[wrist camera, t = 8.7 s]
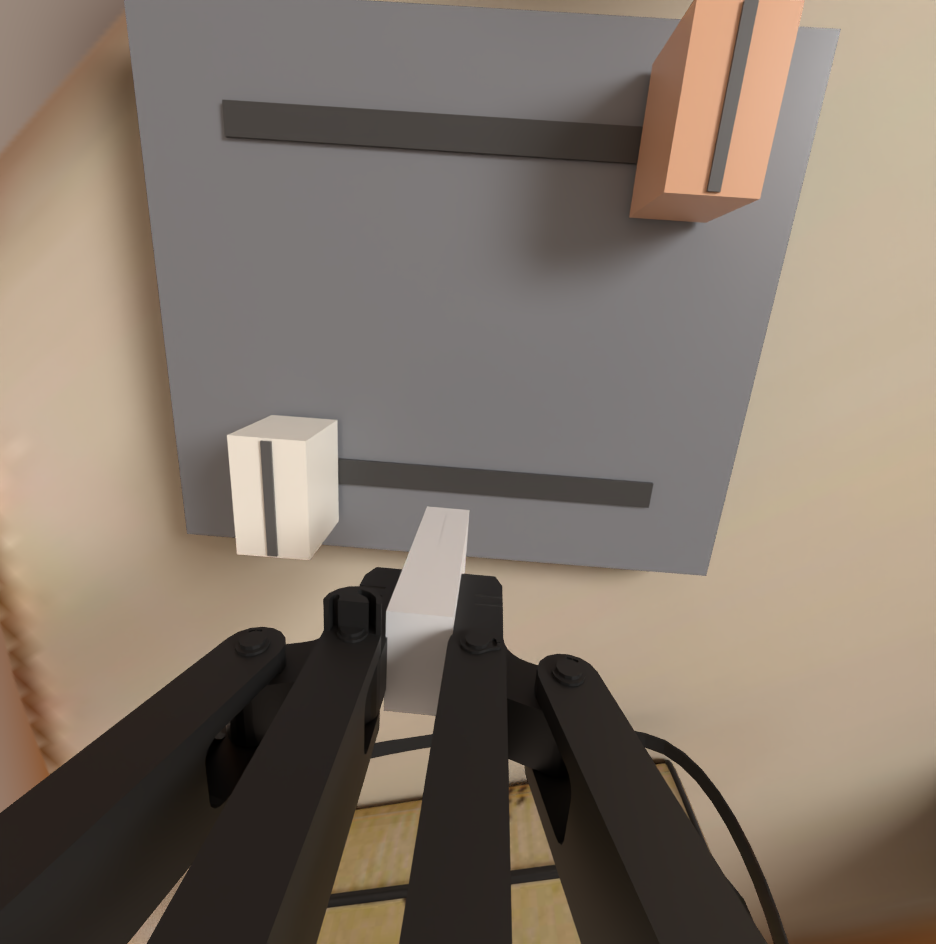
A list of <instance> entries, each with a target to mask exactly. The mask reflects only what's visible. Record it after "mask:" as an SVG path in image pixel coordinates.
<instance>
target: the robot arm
mask: <svg viewBox="0 0 936 944" xmlns="http://www.w3.org/2000/svg"><path fill="white" fill-rule="evenodd" d="M468 523H469V510H463V509H451V508H439V507H428V506H427V508H426V511H425V513H424V516H423V518H422V521H421V523H420V526H419V528H418V531H417V533H416V536H415V539H414V541H413V544H412V546H411V549H410V551H409V554H408V556H407V559H406V562H405V564H404V567H403V569H392V568H381V567H376V568H375V569H373V570H372V571H370V572H369V573H367V574H366V575H365V576H364V578H363V580H362V582H361V584H360V586H355V587H345V588H340V589H337V590H335V591H333V592H331V593H329V594H328V595H327V596H326V597H325V598H324V599H323V605H324V631H323V633H322V635H321V637H320V638H319V639H316V640H313V641H308V642H302V643H293V644H286V641H285V637H284V635H283V634H282V632H280V631H278V630H276V629H274V628H267V627H257V628H256V627H255V628H249V629H246V630H243V631H240V632H237V633H236V634H234V635H232V636H230V637H229V638H227V639H226V640H225V641H223V642H222V643H221V644H219V645H218V646H217V647H216V648H214V649H213V650H212V651H210V652H209V653H208V654H206V655H205V656H204V657H203V658H201V659H200V660H199V661H197V662H196V663H195V664H193V665H192V666H191V667H190V668H188V669H187V670H186V671H184V672H183V673H182V674H180V675H179V676H178V677H177V678H175V679H174V680H173V681H171V682H170V683H169V684H167V685H166V686H165V687H164V688H162V689H161V690H160V691H158V692H157V693H156V694H154V695H153V696H152V697H151V698H149V699H148V700H147V701H145V702H144V703H143V704H141V705H140V706H139V707H138V708H136V709H135V710H134V711H132V712H131V713H130V714H128V715H127V716H126V717H125V718H123V719H122V720H121V721H119V722H118V723H117V724H115V725H114V726H113V727H112V728H110V729H109V730H108V731H106V732H105V733H104V734H102V735H101V736H100V737H99V738H97V739H96V740H95V741H93V742H92V743H91V744H89V745H88V746H87V747H85V748H84V749H83V750H82V751H80V752H79V753H78V754H76V755H75V756H74V757H72V758H71V759H70V760H69V761H67V762H66V763H65V764H63V765H62V766H61V767H59V768H58V769H57V770H56V771H54V772H53V773H52V774H50V775H49V776H48V777H47V778H45V779H44V780H43V781H41V782H40V783H39V784H37V785H36V786H35V787H33V788H32V789H31V790H30V791H28V792H27V793H26V794H25V795H23V796H22V797H21V798H19V799H18V800H17V801H15V802H14V803H13V804H11V805H10V806H9V807H7V808H6V809H5V810H4V811H2V812H1V813H0V944H127V943H128V942H129V941H130V940H131V938H132V937H133V936H134V935H135V934H136V932H137V931H138V930H139V929H140V927H141V926H142V925H143V924H144V922H145V921H146V920H147V919H148V918H149V916H150V915H151V914H152V913H153V911H154V910H155V909H156V908H157V906H158V905H159V904H160V903H161V902H162V900H163V899H164V898H165V897H166V895H167V894H168V893H169V892H170V890H171V889H172V888H173V887H174V886H175V884H176V883H177V882H178V881H179V879H180V878H181V877H182V876H183V874H184V873H185V872H186V871H187V869H188V868H189V867H190V868H189V870H188V872H187V873H186V875H185V877H184V879H183V880H182V882H181V884H180V886H179V887H178V889H177V891H176V893H175V895H174V896H173V898H172V900H171V902H170V903H169V905H168V907H167V909H166V910H165V912H164V914H163V916H162V917H161V919H160V921H159V923H158V925H157V926H156V928H155V930H154V932H153V933H152V935H151V937H150V939H149V940H148V942H147V944H317V940H318V937H319V933H320V930H321V927H322V923H323V920H324V916H325V913H326V909H327V906H328V902H329V899H330V896H331V892H332V889H333V885H334V882H335V878H336V875H337V872H338V868H339V865H340V861H341V858H342V854H343V851H344V847H345V844H346V841H347V837H348V834H349V830H350V827H351V823H352V820H353V817H354V813H355V810H356V806H357V803H358V799H359V796H360V792H361V789H362V786H363V782H364V779H365V775H366V772H367V768H368V765H369V762H370V758H371V755H372V751H373V748H374V744H375V741H376V737H377V734H378V731H379V719H380V707H381V704H382V701H383V698H384V711H393V712H403V713H413V714H423V715H432V716H436V718H435V724H434V730H433V736H432V743H431V749H430V755H429V761H428V767H427V773H426V780H425V786H424V792H423V798H422V804H421V811H420V817H419V823H418V829H417V835H416V841H415V848H414V854H413V860H412V866H411V872H410V878H409V885H408V891H407V897H406V903H405V909H404V916H403V922H402V928H401V934H400V940H399V944H512V908H511V862H510V816H509V770H508V759H510V760H513V761H515V762H517V763H520V764H522V765H525V774H526V777H527V780H528V783H529V786H530V790H531V793H532V796H533V799H534V802H535V805H536V808H537V811H538V814H539V817H540V820H541V823H542V826H543V829H544V832H545V835H546V838H547V841H548V844H549V848H550V851H551V854H552V857H553V860H554V863H555V866H556V869H557V872H558V875H559V878H560V881H561V884H562V887H563V890H564V893H565V896H566V899H567V902H568V906H569V909H570V912H571V915H572V918H573V921H574V924H575V927H576V930H577V933H578V936H579V939H580V942H581V944H767V942H766V941H765V939H764V938H763V936H762V934H761V933H760V931H759V930H758V928H757V926H756V925H755V923H754V922H753V920H752V918H751V917H750V915H749V914H748V912H747V910H746V909H745V907H744V906H743V904H742V902H741V901H740V899H739V898H738V896H737V894H736V893H735V891H734V890H733V888H732V886H731V885H730V883H729V882H728V880H727V878H726V877H725V875H724V874H723V872H722V870H721V869H720V867H719V866H718V864H717V862H716V861H715V859H714V858H713V856H712V854H711V853H710V851H709V850H708V848H707V846H706V845H705V843H704V842H703V840H702V838H701V837H700V835H699V834H698V832H697V830H696V829H695V827H694V826H693V824H692V822H691V821H690V819H689V818H688V816H687V814H686V813H685V811H684V810H683V808H682V806H681V805H680V803H679V802H678V800H677V798H676V797H675V795H674V794H673V792H672V790H671V789H670V787H669V786H668V784H667V782H666V781H665V779H664V778H663V776H662V774H661V773H660V771H659V770H658V768H657V766H656V765H655V763H654V762H653V760H652V758H651V757H650V755H649V754H648V752H647V750H646V749H645V747H644V746H643V744H642V742H641V741H640V739H639V738H638V736H637V734H636V733H635V731H634V730H633V728H632V726H631V725H630V723H629V722H628V720H627V718H626V717H625V715H624V714H623V712H622V710H621V709H620V707H619V706H618V704H617V703H616V701H615V699H614V698H613V696H612V695H611V693H610V691H609V690H608V688H607V687H606V685H605V683H604V682H603V680H602V679H601V677H600V675H599V674H598V672H597V671H596V670H595V669H594V668H593V667H592V666H591V664H589V663H587V662H586V661H584V660H582V659H581V658H578V657H575V656H572V655H567V654H554V655H549V656H547V657H545V658H544V659H542V660H541V661H540V663H539V665H535V664H532V663H529V662H526V661H524V660H522V659H519V658H518V657H516V656H515V655H513V654H512V653H511V652H510V651H509V650H508V649H507V647H506V646H505V643H504V640H503V607H502V606H503V603H502V585H501V584H500V583H499V581H498V580H497V579H496V577H494V576H483V575H472V574H465V563H466V550H467V537H468Z"/></svg>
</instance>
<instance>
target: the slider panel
mask: <svg viewBox="0 0 936 944" xmlns="http://www.w3.org/2000/svg"><path fill="white" fill-rule="evenodd" d="M124 4H125V13H126V21H127V30H128V38H129V47H130V55H131V63H132V72H133V80H134V89H135V97H136V106H137V114H138V123H139V131H140V139H141V148H142V156H143V165H144V173H145V182H146V190H147V199H148V207H149V216H150V224H151V232H152V241H153V249H154V258H155V266H156V275H157V283H158V292H159V300H160V308H161V317H162V325H163V334H164V342H165V351H166V359H167V368H168V376H169V385H170V393H171V401H172V410H173V418H174V427H175V435H176V444H177V452H178V461H179V469H180V477H181V486H182V494H183V503H184V511H185V520H186V528H187V534H196V535H208V536H221V537H233V538H236V536H235V525H234V513H233V501H232V489H231V478H230V466H229V454H228V442H227V435H228V434H231V433H233V432H235V431H237V430H239V429H242V428H244V427H246V426H248V425H251V424H253V423H255V422H257V421H260V420H262V419H264V418H266V417H269V416H271V415H280V416H293V417H306V418H319V419H332V420H337V428H338V501H339V521H338V523H337V524H336V526H335V527H334V528H333V530H332V531H331V532H330V534H329V535H328V536H327V538H326V539H325V540H324V542H323V543H322V544H321V545H332V546H344V547H357V548H369V549H381V550H394V551H406V552H409V551H410V549H411V546H412V544H413V541H414V539H415V536H416V533H417V531H418V528H419V526H420V523H421V521H422V518H423V516H424V513H425V511H426V508H427V506H428V507H439V508H451V509H463V510H469V523H468V537H467V550H466V556H468V557H480V558H492V559H505V560H517V561H530V562H542V563H554V564H567V565H579V566H591V567H604V568H616V569H628V570H641V571H653V572H665V573H678V574H690V575H702V576H706V574H707V570H708V566H709V562H710V558H711V554H712V550H713V546H714V542H715V538H716V534H717V530H718V526H719V521H720V517H721V513H722V509H723V505H724V501H725V497H726V493H727V489H728V485H729V481H730V477H731V473H732V469H733V465H734V461H735V456H736V452H737V448H738V444H739V440H740V436H741V432H742V428H743V424H744V420H745V416H746V412H747V408H748V404H749V400H750V396H751V391H752V387H753V383H754V379H755V375H756V371H757V367H758V363H759V359H760V355H761V351H762V347H763V343H764V339H765V335H766V331H767V327H768V322H769V318H770V314H771V310H772V306H773V302H774V298H775V294H776V290H777V286H778V282H779V278H780V274H781V270H782V266H783V262H784V257H785V253H786V249H787V245H788V241H789V237H790V233H791V229H792V225H793V221H794V217H795V213H796V209H797V205H798V201H799V197H800V192H801V188H802V184H803V180H804V176H805V172H806V168H807V164H808V160H809V156H810V152H811V148H812V144H813V140H814V136H815V132H816V127H817V123H818V119H819V115H820V111H821V107H822V103H823V99H824V95H825V91H826V87H827V83H828V79H829V75H830V71H831V67H832V62H833V58H834V54H835V50H836V46H837V42H838V38H839V34H840V30H841V29H831V28H814V27H798V32H797V36H796V41H795V45H794V50H793V54H792V59H791V63H790V68H789V72H788V76H787V81H786V85H785V90H784V94H783V99H782V103H781V108H780V112H779V117H778V121H777V126H776V130H775V134H774V139H773V143H772V148H771V152H770V157H769V161H768V166H767V170H766V175H765V179H764V183H763V188H762V192H761V197H760V199H759V200H756V201H754V202H752V203H750V204H747V205H745V206H743V207H741V208H738V209H736V210H734V211H731V212H729V213H727V214H725V215H722V216H720V217H718V218H715V219H713V220H711V221H709V222H706V223H702V222H687V221H672V220H658V219H643V218H629V215H630V208H631V202H632V195H633V188H634V182H635V175H636V169H637V162H638V156H639V149H640V143H641V136H642V129H643V123H644V116H645V110H646V103H647V97H648V90H649V84H650V77H651V71H652V64H653V63H654V61H655V60H656V58H657V56H658V55H659V53H660V52H661V50H662V49H663V47H664V46H665V44H666V43H667V41H668V39H669V38H670V36H671V35H672V33H673V32H674V30H675V29H676V27H677V25H678V24H679V22H680V21H681V19H665V18H649V17H632V16H616V15H599V14H583V13H566V12H550V11H533V10H516V9H500V8H483V7H467V6H450V5H434V4H417V3H401V2H384V1H367V0H124Z"/></svg>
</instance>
